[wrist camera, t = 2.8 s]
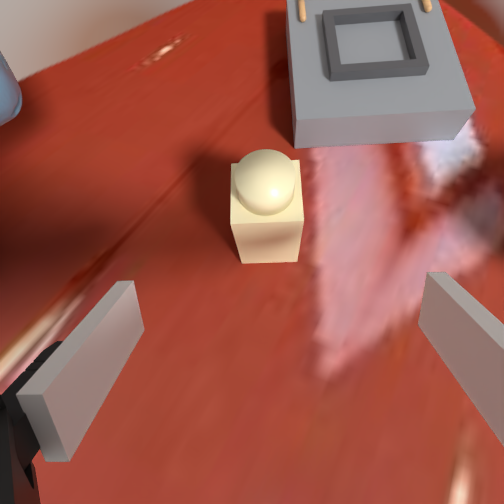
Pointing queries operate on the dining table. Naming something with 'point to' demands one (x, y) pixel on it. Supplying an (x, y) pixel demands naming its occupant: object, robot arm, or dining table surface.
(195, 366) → the dining table surface
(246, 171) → the dome-topped cream pillar
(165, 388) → the dining table surface
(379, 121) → the ball-topped post base
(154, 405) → the dining table surface
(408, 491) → the dining table surface
